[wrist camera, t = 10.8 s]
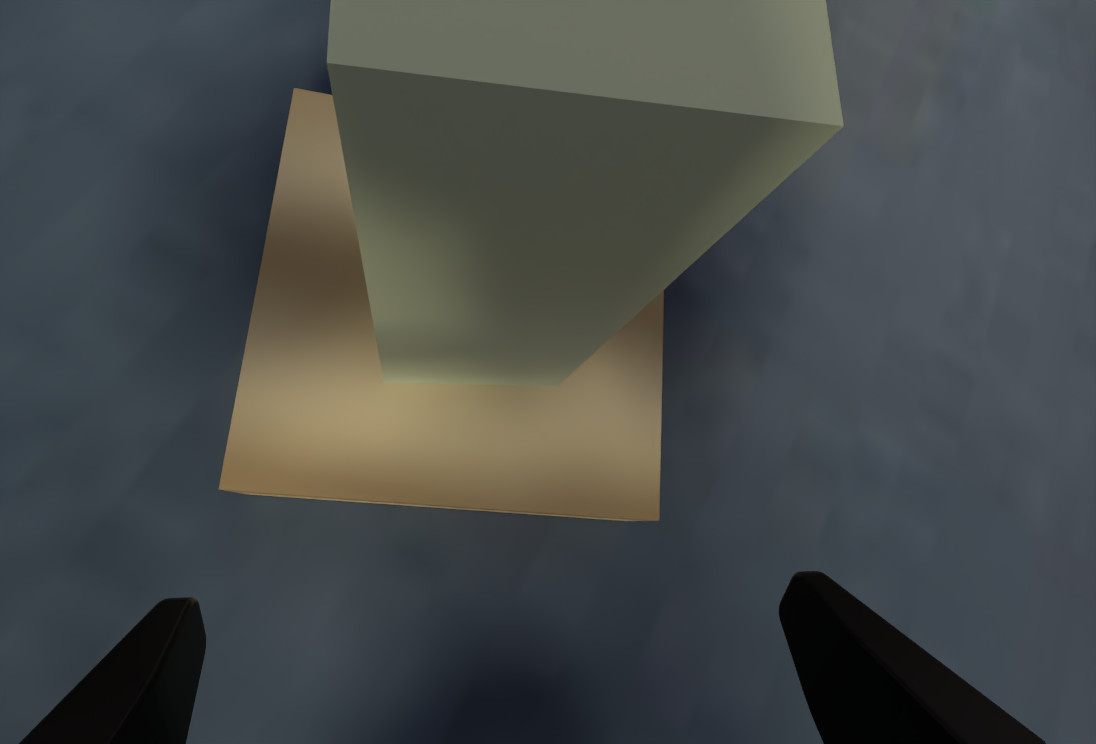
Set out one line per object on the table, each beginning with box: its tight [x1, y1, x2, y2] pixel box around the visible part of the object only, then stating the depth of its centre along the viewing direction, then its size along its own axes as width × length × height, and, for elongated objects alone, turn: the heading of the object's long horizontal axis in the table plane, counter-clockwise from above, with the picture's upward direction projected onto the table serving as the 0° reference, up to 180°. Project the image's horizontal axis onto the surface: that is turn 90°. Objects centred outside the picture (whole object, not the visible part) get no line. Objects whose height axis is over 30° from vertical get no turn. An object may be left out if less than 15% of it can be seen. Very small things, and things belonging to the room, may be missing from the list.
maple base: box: [219, 88, 664, 521], centre depth 20 cm, size 12×12×3 cm
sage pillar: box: [327, 0, 843, 386], centre depth 13 cm, size 5×5×13 cm
